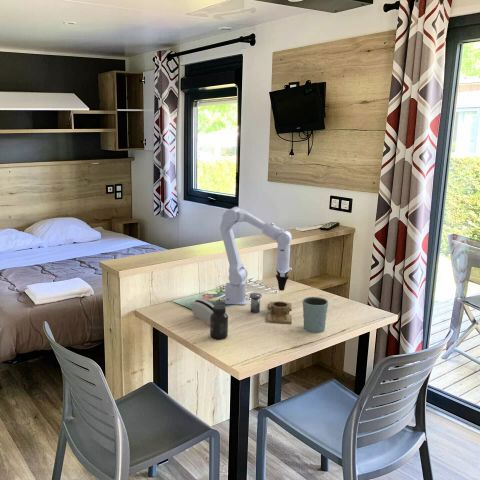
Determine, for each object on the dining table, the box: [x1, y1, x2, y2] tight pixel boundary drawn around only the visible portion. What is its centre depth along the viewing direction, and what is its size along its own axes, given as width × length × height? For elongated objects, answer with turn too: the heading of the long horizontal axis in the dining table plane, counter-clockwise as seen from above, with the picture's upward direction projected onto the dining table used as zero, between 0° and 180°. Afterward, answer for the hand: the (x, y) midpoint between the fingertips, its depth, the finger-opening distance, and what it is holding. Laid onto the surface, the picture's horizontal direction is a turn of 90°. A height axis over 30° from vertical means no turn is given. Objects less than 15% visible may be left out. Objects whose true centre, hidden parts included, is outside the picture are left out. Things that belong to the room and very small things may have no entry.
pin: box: [249, 292, 262, 314], centre depth 216 cm, size 5×5×8 cm
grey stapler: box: [190, 298, 215, 325], centre depth 204 cm, size 17×5×10 cm, turn 41°
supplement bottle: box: [209, 304, 229, 341], centre depth 188 cm, size 7×7×12 cm
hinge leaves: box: [267, 300, 293, 324], centre depth 215 cm, size 10×23×4 cm, turn 174°
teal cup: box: [302, 296, 329, 334], centre depth 198 cm, size 10×10×12 cm
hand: (281, 287), depth 220 cm, fingers open, 7 cm apart
